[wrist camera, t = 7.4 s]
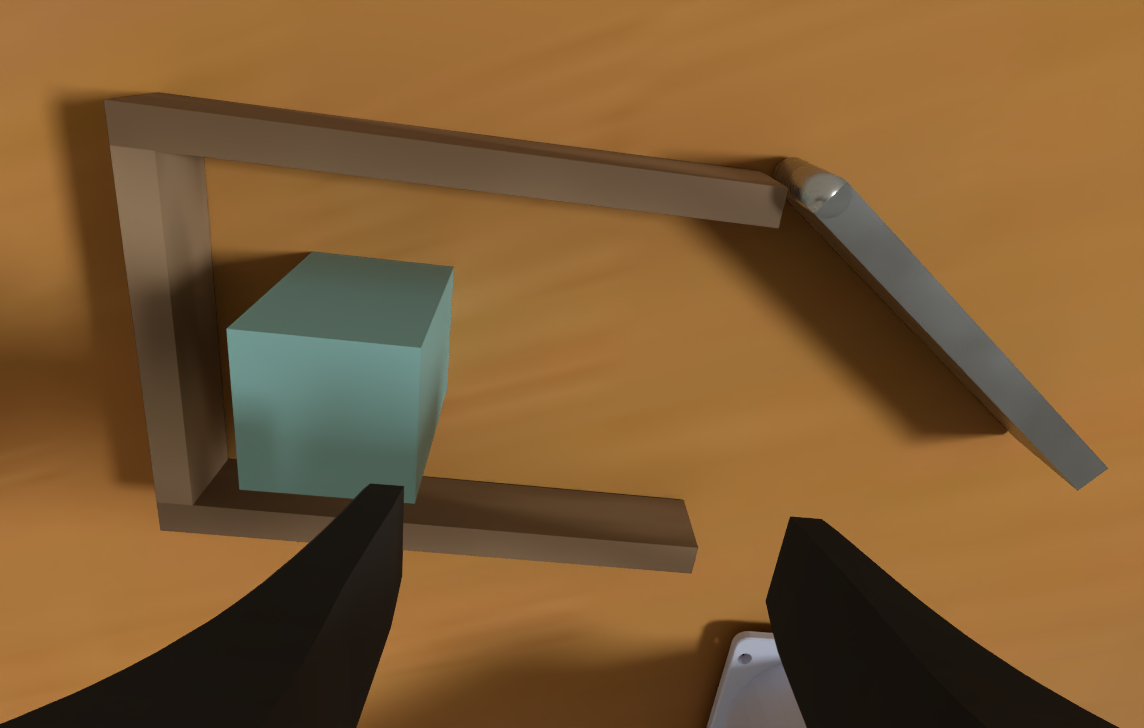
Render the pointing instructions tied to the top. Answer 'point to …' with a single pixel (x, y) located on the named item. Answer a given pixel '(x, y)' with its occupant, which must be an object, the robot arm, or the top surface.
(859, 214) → the gate
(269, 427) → the teal block
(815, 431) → the top surface
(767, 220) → the bay
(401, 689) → the top surface
